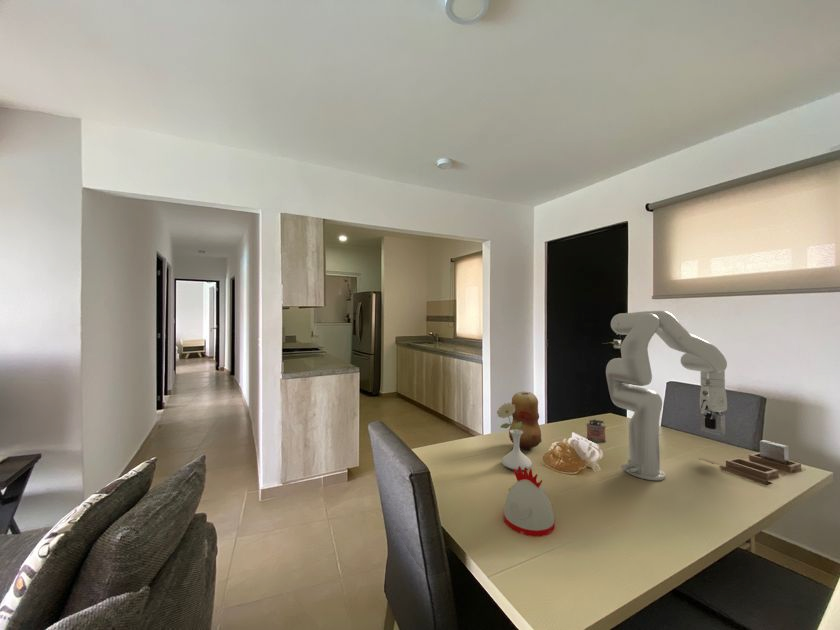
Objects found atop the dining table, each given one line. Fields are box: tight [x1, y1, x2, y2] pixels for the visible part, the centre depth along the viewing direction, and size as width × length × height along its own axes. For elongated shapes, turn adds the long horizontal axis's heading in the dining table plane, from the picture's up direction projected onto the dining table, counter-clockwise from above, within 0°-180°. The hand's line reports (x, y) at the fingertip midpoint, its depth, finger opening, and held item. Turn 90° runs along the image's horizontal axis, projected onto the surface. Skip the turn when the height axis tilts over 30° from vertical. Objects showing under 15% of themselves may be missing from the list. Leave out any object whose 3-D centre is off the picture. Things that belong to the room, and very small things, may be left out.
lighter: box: [586, 418, 607, 443], centre depth 159 cm, size 8×3×10 cm, turn 62°
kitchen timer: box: [502, 466, 556, 538], centre depth 95 cm, size 14×14×15 cm
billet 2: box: [759, 439, 790, 465], centre depth 128 cm, size 3×7×8 cm, turn 20°
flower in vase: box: [496, 402, 533, 471], centre depth 130 cm, size 13×11×25 cm
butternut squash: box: [508, 391, 542, 450], centre depth 149 cm, size 14×13×25 cm
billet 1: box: [700, 412, 726, 437], centre depth 136 cm, size 3×7×8 cm, turn 20°
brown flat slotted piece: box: [720, 451, 806, 486], centre depth 125 cm, size 26×13×4 cm, turn 110°
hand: (712, 427), depth 136 cm, fingers closed on billet 1, 3 cm apart
